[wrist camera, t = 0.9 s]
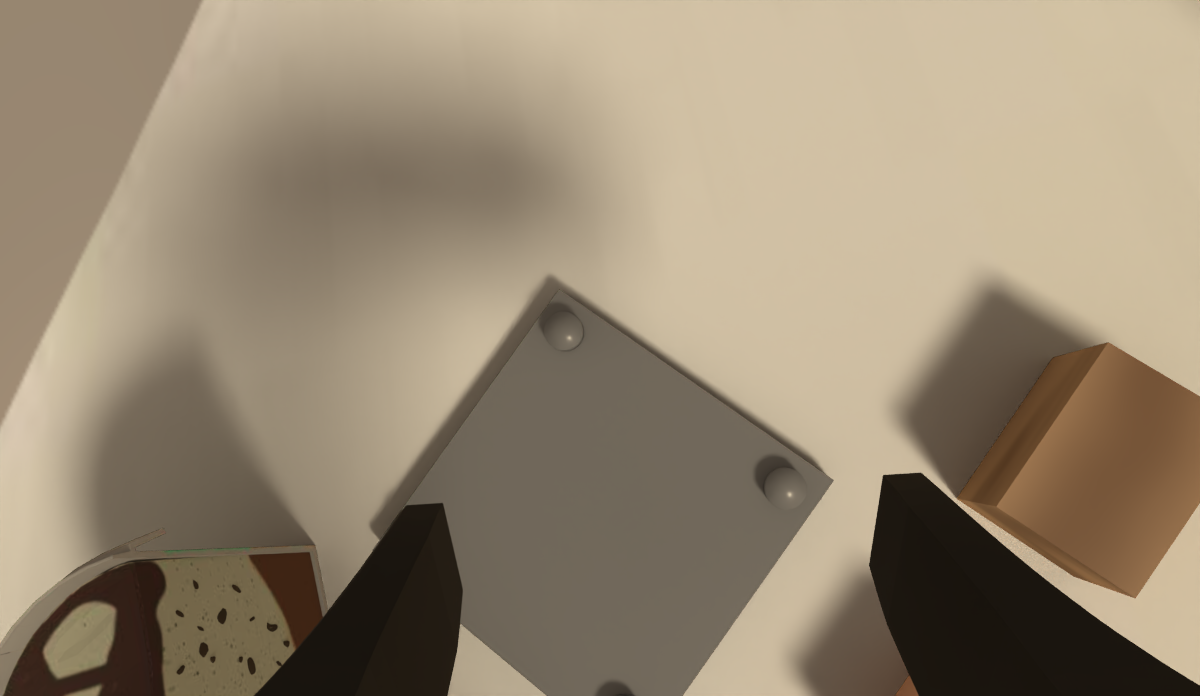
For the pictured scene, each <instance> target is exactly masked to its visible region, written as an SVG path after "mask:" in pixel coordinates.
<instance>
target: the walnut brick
mask: <svg viewBox="0 0 1200 696" xmlns="http://www.w3.org/2000/svg"><path fill="white" fill-rule="evenodd" d="M957 499H958V500H959V501H961V502H962V503H964V504H965V505H967V506H969V507H970V508H972V509H973V510H975V511H976V512H978V513H979V514H981V515H982V516H984V517H985V518H987V519H988V520H990V521H991V522H993V523H994V524H996V525H997V526H999V527H1000V528H1002V529H1003V530H1005V531H1006V532H1008V533H1009V534H1011V535H1012V536H1014V537H1015V538H1017V539H1018V540H1020V541H1021V542H1023V543H1024V544H1026V545H1027V546H1029V547H1030V548H1032V549H1033V550H1035V551H1036V552H1038V553H1039V554H1041V555H1042V556H1044V557H1045V558H1047V559H1048V560H1050V561H1051V562H1053V563H1054V564H1056V565H1057V566H1059V567H1060V568H1062V569H1063V570H1065V571H1066V572H1068V573H1069V574H1071V575H1072V576H1074V577H1077V578H1080V579H1082V580H1085V581H1088V582H1091V583H1094V584H1096V585H1099V586H1102V587H1105V588H1108V589H1111V590H1113V591H1116V592H1119V593H1122V594H1125V595H1127V596H1130V597H1133V598H1136V597H1137V595H1138V594H1139V592H1140V591H1141V589H1142V588H1143V586H1144V585H1145V583H1146V582H1147V580H1148V579H1149V577H1150V576H1151V574H1152V573H1153V572H1154V570H1155V569H1156V567H1157V566H1158V564H1159V563H1160V561H1161V560H1162V558H1163V557H1164V555H1165V554H1166V552H1167V551H1168V549H1169V548H1170V546H1171V545H1172V543H1173V542H1174V540H1175V539H1176V537H1177V536H1178V534H1179V533H1180V532H1181V530H1182V529H1183V527H1184V526H1185V524H1186V523H1187V521H1188V520H1189V518H1190V517H1191V515H1192V514H1193V512H1194V511H1195V509H1196V508H1197V506H1198V505H1199V503H1200V396H1198V395H1196V394H1195V393H1193V392H1191V391H1190V390H1188V389H1186V388H1184V387H1183V386H1181V385H1179V384H1178V383H1176V382H1174V381H1173V380H1171V379H1169V378H1168V377H1166V376H1164V375H1163V374H1161V373H1159V372H1157V371H1156V370H1154V369H1152V368H1151V367H1149V366H1147V365H1146V364H1144V363H1142V362H1141V361H1139V360H1137V359H1136V358H1134V357H1132V356H1130V355H1129V354H1127V353H1125V352H1124V351H1122V350H1120V349H1119V348H1117V347H1115V346H1114V345H1112V344H1110V343H1109V342H1108V343H1104V344H1101V345H1097V346H1093V347H1090V348H1086V349H1082V350H1079V351H1075V352H1071V353H1068V354H1064V355H1061V356H1057V357H1053V358H1052V360H1051V361H1050V363H1049V364H1048V366H1047V367H1046V368H1045V370H1044V371H1043V373H1042V374H1041V376H1040V377H1039V379H1038V380H1037V382H1036V383H1035V385H1034V386H1033V387H1032V389H1031V390H1030V392H1029V393H1028V395H1027V396H1026V398H1025V399H1024V401H1023V402H1022V404H1021V405H1020V406H1019V408H1018V409H1017V411H1016V412H1015V414H1014V415H1013V417H1012V418H1011V420H1010V421H1009V423H1008V424H1007V426H1006V427H1005V428H1004V430H1003V431H1002V433H1001V434H1000V436H999V437H998V439H997V440H996V442H995V443H994V445H993V446H992V447H991V449H990V450H989V452H988V453H987V455H986V456H985V458H984V459H983V461H982V462H981V464H980V465H979V466H978V468H977V469H976V471H975V472H974V474H973V475H972V477H971V478H970V480H969V481H968V483H967V484H966V486H965V487H964V488H963V490H962V491H961V493H960V494H959V496H958V497H957Z"/></svg>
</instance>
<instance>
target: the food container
mask: <svg viewBox="0 0 1200 696" xmlns="http://www.w3.org/2000/svg"><path fill="white" fill-rule="evenodd" d="M165 533H166V532H165V530H164V528H162V529H159V530H157V531H154V532H152V533H149V534H147V535H144V536H142V537H139V538H137V539H134V540H132V541H130V542H128V543H125V544H123V545H121V546H118V547H116V548H114V549H111V550H109V551H107V552H105V553H102V554H101V555H99V556H97V557H95V558H94V559H92V560H90V561H89V562H87V563H85V564H83V565H82V566H80V567H78V568H76V569H75V570H74V571H72V572H71V573H70V574H69V575H67V576H66V577H65V578H64V579H62V580H61V581H60V582H58V583H57V584H56V585H55V586H53V587H52V588H51V589H50V590H48V591H47V592H46V593H45V594H43V595H42V596H41V597H40V598H39V599H37V600H36V601H35V602H34V603H33V604H32V605H31V606H30V607H29V608H28V609H27V610H26V612H25V613H24V614H23V615H22V616H21V617H20V618H19V619H18V620H17V621H16V623H15V624H14V625H13V626H12V627H11V629H10V630H9V632H8V633H7V634H6V636H5V637H4V639H3V640H2V642H1V643H0V696H254V695H255V694H256V693H257V692H258V691H259V690H260V688H261V687H262V686H263V685H264V684H265V683H266V682H267V681H268V680H269V679H270V678H271V677H272V676H273V675H274V674H275V672H276V671H277V670H278V669H279V668H280V667H281V666H282V665H283V664H284V663H285V661H286V660H287V659H288V658H289V657H290V656H291V655H292V653H293V652H294V651H295V650H296V649H297V648H298V646H299V645H300V644H301V643H302V642H303V640H304V639H305V638H306V637H307V636H308V634H309V633H310V632H311V631H312V630H313V628H314V627H315V626H316V625H317V624H318V623H319V621H320V620H321V619H322V618H323V617H324V615H325V614H326V613H327V612H328V607H327V602H326V597H325V592H324V587H323V582H322V577H321V572H320V567H319V562H318V557H317V552H316V547H315V545H304V546H276V547H249V548H222V549H195V550H168V551H140V552H136V549H135V547H137V546H139V545H141V544H143V543H145V542H147V541H150V540H152V539H154V538H156V537H158V536H160V535H162V534H165Z"/></svg>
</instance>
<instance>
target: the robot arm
mask: <svg viewBox="0 0 1200 696" xmlns="http://www.w3.org/2000/svg"><path fill="white" fill-rule="evenodd" d="M869 567H870V570H871V573H872V577H873V580H874V584H875V587H876V591H877V594H878V597H879V601H880V604H881V607H882V610H883V613H884V616H885V619H886V622H887V625H888V628H889V630H890V632H891V635H892V637H893V639H894V641H895V644H896V646H897V648H898V650H899V653H900V655H901V657H902V660H903V662H904V664H905V666H906V669H907V671H908V673H909V675H910V678H911V680H912V682H913V684H914V686H915V689H916V691H917V693H918V695H919V696H1200V685H1198V684H1196V683H1194V682H1193V681H1191V680H1190V679H1188V678H1186V677H1185V676H1183V675H1181V674H1180V673H1178V672H1177V671H1175V670H1173V669H1172V668H1170V667H1169V666H1167V665H1165V664H1164V663H1162V662H1161V661H1159V660H1158V659H1156V658H1155V657H1153V656H1152V655H1150V654H1149V653H1147V652H1146V651H1144V650H1143V649H1141V648H1140V647H1138V646H1137V645H1135V644H1134V643H1132V642H1131V641H1129V640H1128V639H1126V638H1125V637H1123V636H1122V635H1120V634H1119V633H1117V632H1116V631H1114V630H1113V629H1111V628H1110V627H1109V626H1107V625H1106V624H1104V623H1103V622H1101V621H1100V620H1099V619H1097V618H1096V617H1094V616H1093V615H1092V614H1090V613H1089V612H1088V611H1086V610H1085V609H1084V608H1082V607H1081V606H1080V605H1078V604H1077V603H1076V602H1074V601H1073V600H1072V599H1070V598H1069V597H1068V596H1066V595H1065V594H1064V593H1062V592H1061V591H1060V590H1058V589H1057V588H1056V587H1054V586H1053V585H1052V584H1051V583H1049V582H1048V581H1047V580H1046V579H1044V578H1043V577H1042V576H1041V575H1039V574H1038V573H1037V572H1036V571H1034V570H1033V569H1032V568H1031V567H1029V566H1028V565H1027V564H1026V563H1024V562H1023V561H1022V560H1021V559H1020V558H1018V557H1017V556H1016V555H1015V554H1014V553H1012V552H1011V551H1010V550H1009V549H1008V548H1006V547H1005V546H1004V545H1003V544H1002V543H1000V542H999V541H998V540H997V539H996V538H995V537H993V536H992V535H991V534H990V533H989V532H988V531H986V530H985V529H984V528H983V527H982V526H981V525H980V524H979V523H977V522H976V521H975V520H974V519H973V518H972V517H971V516H969V515H968V514H967V513H966V512H965V511H964V510H963V509H961V508H960V507H959V506H958V505H957V504H956V503H955V502H954V501H953V500H951V499H950V498H949V497H948V496H947V495H946V494H945V493H944V492H942V491H941V490H940V489H939V488H938V487H937V486H936V485H935V484H933V483H932V482H931V481H930V480H929V479H928V478H927V477H925V476H924V475H923V474H922V473H910V474H894V475H883V479H882V486H881V492H880V499H879V505H878V512H877V518H876V525H875V531H874V537H873V544H872V550H871V557H870V563H869ZM462 597H463V587H462V583H461V579H460V574H459V570H458V566H457V561H456V557H455V553H454V548H453V544H452V540H451V535H450V531H449V527H448V522H447V518H446V514H445V509H444V505H443V503H433V504H417V505H406V506H405V507H404V508H403V509H402V510H401V512H400V513H399V515H398V516H397V517H396V519H395V520H394V522H393V523H392V525H391V526H390V527H389V529H388V530H387V532H386V533H385V535H384V536H383V538H382V539H381V540H380V542H379V543H378V545H377V546H376V548H375V549H374V550H373V552H372V553H371V555H370V556H369V557H368V559H367V560H366V561H365V563H364V564H363V566H362V567H361V568H360V570H359V571H358V572H357V574H356V575H355V576H354V578H353V579H352V580H351V582H350V583H349V584H348V586H347V587H346V588H345V590H344V591H343V592H342V593H341V595H340V596H339V597H338V599H337V600H336V601H335V603H334V604H333V605H332V607H331V608H330V609H329V610H328V612H327V613H326V614H325V615H324V617H323V618H322V619H321V620H320V621H319V623H318V624H317V625H316V626H315V627H314V628H313V630H312V631H311V632H310V633H309V634H308V636H307V637H306V638H305V639H304V640H303V642H302V643H301V644H300V645H299V646H298V648H297V649H296V650H295V651H294V652H293V653H292V655H291V656H290V657H289V658H288V659H287V660H286V661H285V663H284V664H283V665H282V666H281V667H280V668H279V669H278V670H277V671H276V672H275V674H274V675H273V676H272V677H271V678H270V679H269V680H268V681H267V682H266V683H265V684H264V685H263V686H262V687H261V688H260V690H259V691H258V692H257V693H256V694H255V695H254V696H447V695H448V690H449V685H450V681H451V676H452V672H453V667H454V662H455V657H456V653H457V647H458V637H459V628H460V619H461V608H462Z"/></svg>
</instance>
